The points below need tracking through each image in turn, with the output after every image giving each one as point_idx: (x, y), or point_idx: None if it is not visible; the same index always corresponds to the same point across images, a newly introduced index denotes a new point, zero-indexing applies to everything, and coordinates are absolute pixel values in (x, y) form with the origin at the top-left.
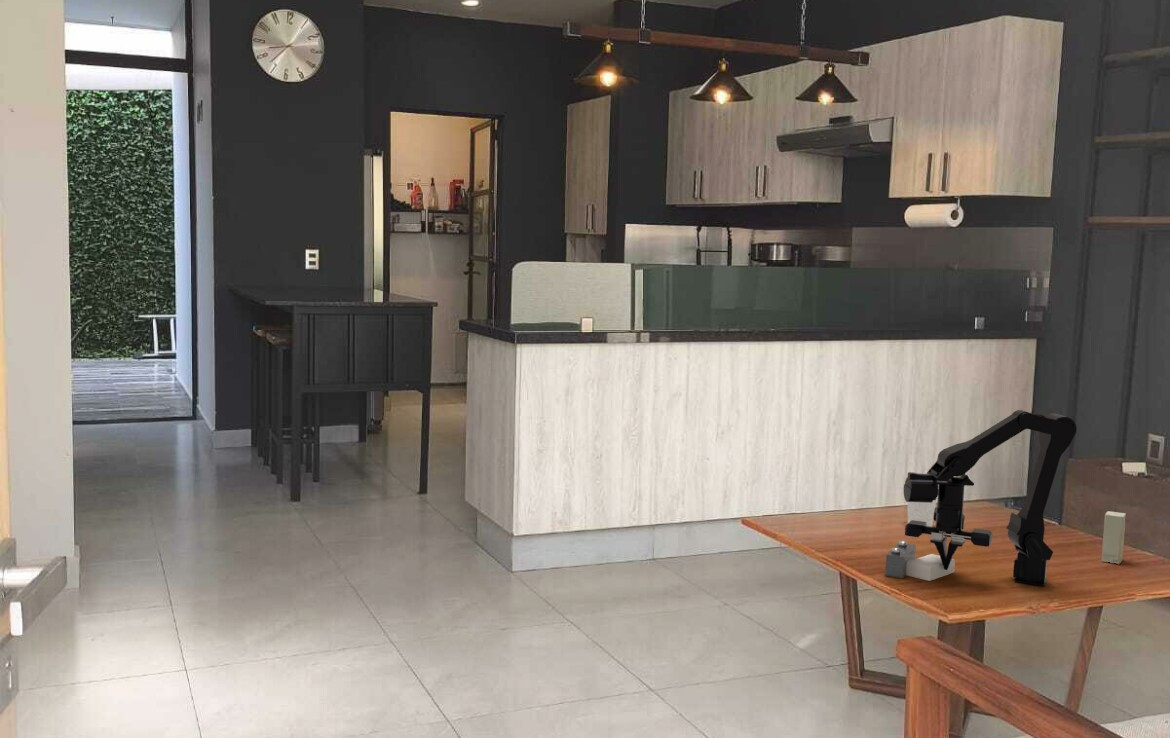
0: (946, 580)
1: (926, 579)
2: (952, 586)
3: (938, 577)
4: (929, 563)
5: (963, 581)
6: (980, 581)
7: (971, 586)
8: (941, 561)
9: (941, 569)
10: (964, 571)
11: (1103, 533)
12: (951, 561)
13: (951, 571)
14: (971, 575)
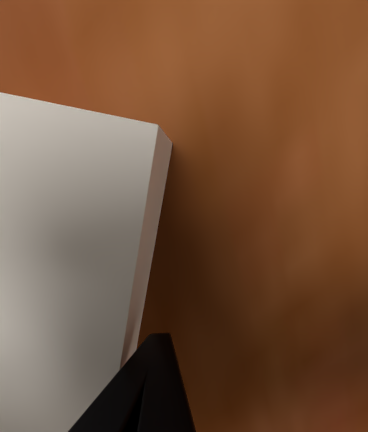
0: (188, 348)
1: None
2: (240, 422)
3: (139, 328)
4: (46, 426)
5: (269, 311)
6: (360, 248)
7: (323, 372)
8: (87, 310)
9: (132, 335)
10: (226, 58)
11: None
12: (147, 203)
13: (164, 180)
14: (290, 140)
